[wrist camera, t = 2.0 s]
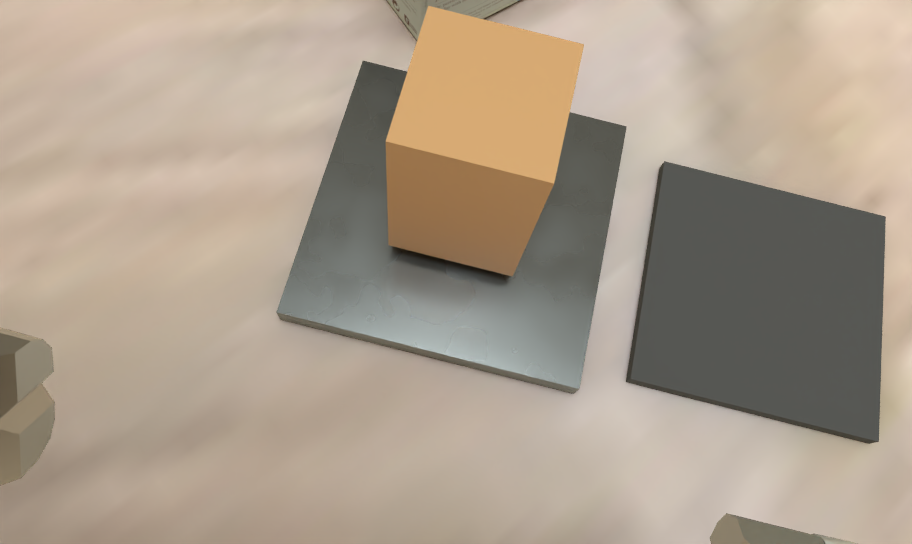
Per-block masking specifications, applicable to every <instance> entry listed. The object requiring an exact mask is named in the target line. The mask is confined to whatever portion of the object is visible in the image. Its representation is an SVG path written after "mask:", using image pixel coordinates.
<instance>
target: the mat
mask: <svg viewBox="0 0 912 544" xmlns="http://www.w3.org/2000/svg"><path fill="white" fill-rule="evenodd" d="M885 218H886V217H885V216H881V215H877V214H873V213H869V212H865V211H861V210H857V209H853V208H849V207H845V206H841V205H837V204H833V203H829V202H825V201H821V200H817V199H813V198H809V197H805V196H801V195H797V194H793V193H789V192H785V191H781V190H777V189H773V188H769V187H765V186H761V185H757V184H753V183H749V182H745V181H741V180H737V179H733V178H729V177H725V176H721V175H717V174H713V173H709V172H705V171H701V170H697V169H693V168H689V167H685V166H681V165H677V164H673V163H669V162H665V161H664V163H663V164H662V166H661V167H660V170H659V176H658V183H657V189H656V195H655V202H654V208H653V214H652V221H651V227H650V234H649V240H648V246H647V253H646V259H645V265H644V272H643V278H642V284H641V291H640V297H639V303H638V310H637V316H636V323H635V329H634V335H633V342H632V348H631V354H630V361H629V367H628V373H627V380H626V382H629V383H633V384H637V385H640V386H644V387H648V388H652V389H656V390H660V391H664V392H668V393H672V394H676V395H680V396H684V397H688V398H692V399H696V400H700V401H704V402H708V403H712V404H715V405H719V406H723V407H727V408H731V409H735V410H739V411H743V412H747V413H751V414H755V415H759V416H763V417H767V418H771V419H775V420H779V421H783V422H787V423H790V424H794V425H798V426H802V427H806V428H810V429H814V430H818V431H822V432H826V433H830V434H834V435H838V436H842V437H846V438H850V439H854V440H858V441H862V442H865V443H874V442H879V415H880V382H881V349H882V317H883V284H884V251H885Z"/></svg>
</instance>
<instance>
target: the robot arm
mask: <svg viewBox="0 0 912 544" xmlns="http://www.w3.org/2000/svg"><path fill="white" fill-rule="evenodd" d="M53 372H54V368H53V354H52V347H51V346H50V345H49V344H47V343H46V342H45V341H44V340H43V339H40V338H36V337H33V336H29V335H25V334H22V333H18V332H15V331H11V330H7V329H4V328H0V486H1V485H4V484H6V483H9V482H12V481H14V480H17V479H20V478H22V477H23V476H24V475H25V474H26V472H27V471H28V470H29V469H30V468H31V467H32V466H33V465H34V464H35V463H36V462H37V461H38V459H39V458H40V456H41V454H42V452H43V450H44V449H45V447H46V445H47V443H48V441H49V439H50V437H51V433H52V428H53V424H54V420H55V402H54V401H53V399H52V398H51V396H50V395H49V393H48V392H47V390H46V389H45V387H44V386H43V385H42V383H43V382H44V381H45V380H46V379H47V378H48V377H49V376H50V375H51V374H52V373H53ZM710 541H711V544H858V543H854V542H849V541H845V540H841V539H836V538H832V537H827V536H823V535H818V534H808V533H804V532H800V531H796V530H792V529H788V528H784V527H780V526H776V525H772V524H768V523H763V522H759V521H755V520H751V519H747V518H743V517H739V516H735V515H731V514H727V513H726V514H725V515H724V516H723V517H722V518H721V519H720V520H719V521H718V523H717V525H716V527H715V529H714V531H713V533H712V535H711V536H710Z"/></svg>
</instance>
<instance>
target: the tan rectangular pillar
mask: <svg viewBox="0 0 912 544" xmlns="http://www.w3.org/2000/svg"><path fill="white" fill-rule="evenodd" d="M583 47H584V44H580V43H576V42H572V41H568V40H564V39H560V38H556V37H552V36H548V35H544V34H540V33H536V32H532V31H528V30H524V29H520V28H516V27H512V26H508V25H504V24H500V23H496V22H492V21H488V20H484V19H480V18H476V17H472V16H468V15H464V14H460V13H456V12H452V11H448V10H444V9H440V8H436V7H432V6H428V8H427V11H426V15H425V18H424V21H423V24H422V27H421V30H420V34H419V37H418V40H417V43H416V46H415V49H414V53H413V56H412V59H411V62H410V65H409V68H408V72H407V75H406V78H405V81H404V84H403V88H402V91H401V94H400V97H399V100H398V103H397V107H396V110H395V113H394V116H393V119H392V122H391V126H390V129H389V132H388V135H387V138H386V174H387V209H388V244H389V245H390V246H393V247H397V248H401V249H405V250H409V251H413V252H417V253H421V254H425V255H429V256H433V257H437V258H441V259H445V260H449V261H453V262H457V263H461V264H465V265H469V266H473V267H477V268H481V269H485V270H489V271H493V272H497V273H500V274H504V275H508V276H512V277H513V275H514V272H515V270H516V268H517V266H518V263H519V261H520V259H521V257H522V254H523V252H524V250H525V248H526V245H527V243H528V241H529V239H530V237H531V234H532V232H533V230H534V228H535V225H536V223H537V221H538V219H539V216H540V214H541V212H542V210H543V208H544V205H545V203H546V201H547V199H548V196H549V194H550V192H551V190H552V187H553V185H554V182H555V178H556V173H557V168H558V164H559V159H560V154H561V150H562V145H563V140H564V136H565V131H566V126H567V122H568V117H569V112H570V108H571V103H572V98H573V94H574V89H575V84H576V80H577V75H578V70H579V66H580V61H581V56H582V52H583Z"/></svg>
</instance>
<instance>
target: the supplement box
mask: <svg viewBox="0 0 912 544" xmlns="http://www.w3.org/2000/svg"><path fill="white" fill-rule="evenodd" d="M387 1H388V3H389V4H390V5H391V7H392V8H393V9H394V11H395V12H396V14H397V15H398V16H399V17H400V19H401V20H402V21H403V23H404V24H405V25H406V27H407V28H408V29H409V30H410V32H411V33H412V35H413V36H414V37H415V39H416V40H418V37H419V34H420V30H421V27H422V24H423V21H424V18H425V15H426V11H427V8H428V6H432V7H436V8H440V9H444V10H448V11H452V12H456V13H460V14H464V15H468V16H472V17H476V18H480V19H484V18H486V17H488V16H490V15H492V14H494V13H496V12H498V11H500V10H501V9H503V8H505V7H507V6H509V5H511V4H513V3H515V2H517V1H519V0H387Z"/></svg>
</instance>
